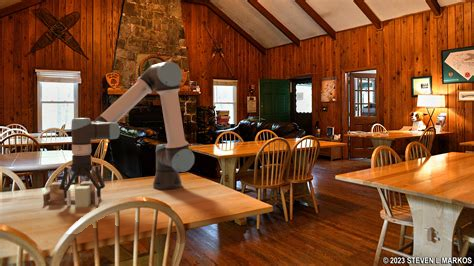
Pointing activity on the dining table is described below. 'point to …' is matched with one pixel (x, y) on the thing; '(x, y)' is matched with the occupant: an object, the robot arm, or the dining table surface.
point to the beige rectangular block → (82, 196)
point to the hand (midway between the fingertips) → (82, 205)
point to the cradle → (58, 195)
